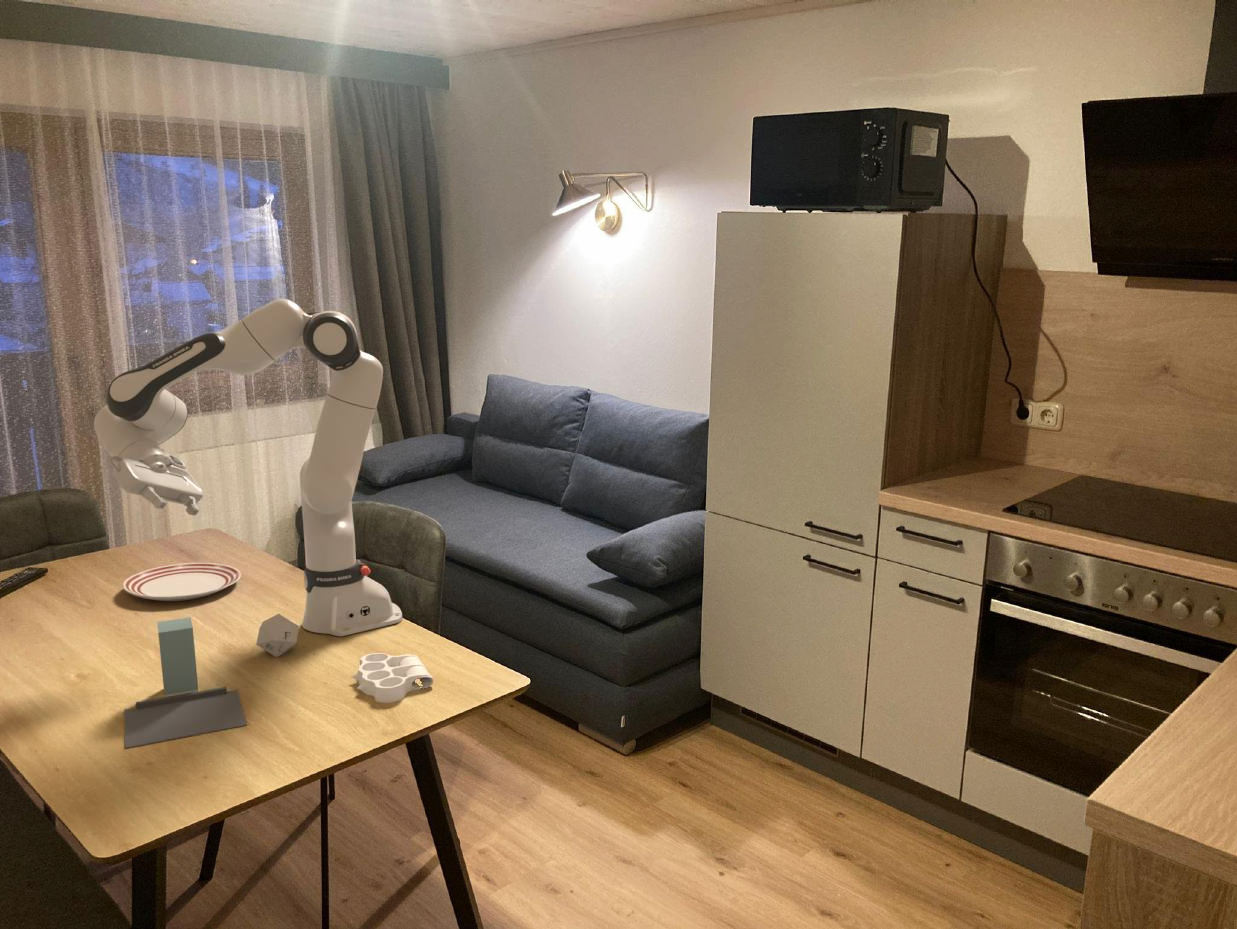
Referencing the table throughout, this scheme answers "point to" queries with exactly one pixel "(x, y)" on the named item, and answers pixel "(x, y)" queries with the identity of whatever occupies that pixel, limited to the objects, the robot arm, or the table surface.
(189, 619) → the block
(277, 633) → the die
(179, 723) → the charcoal mat
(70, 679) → the table surface
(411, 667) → the white multi-hole holder
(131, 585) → the dinner plate
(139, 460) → the robot arm
